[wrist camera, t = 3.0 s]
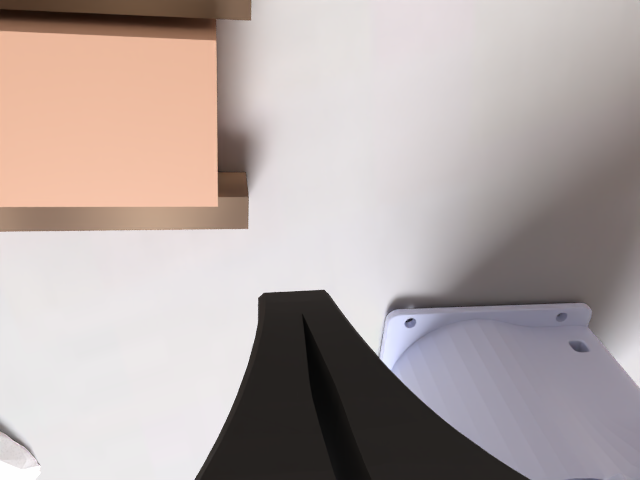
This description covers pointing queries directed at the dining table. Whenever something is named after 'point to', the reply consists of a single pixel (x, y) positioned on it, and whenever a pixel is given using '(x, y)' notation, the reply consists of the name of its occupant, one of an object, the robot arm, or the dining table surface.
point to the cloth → (16, 461)
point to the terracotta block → (107, 110)
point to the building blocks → (229, 214)
